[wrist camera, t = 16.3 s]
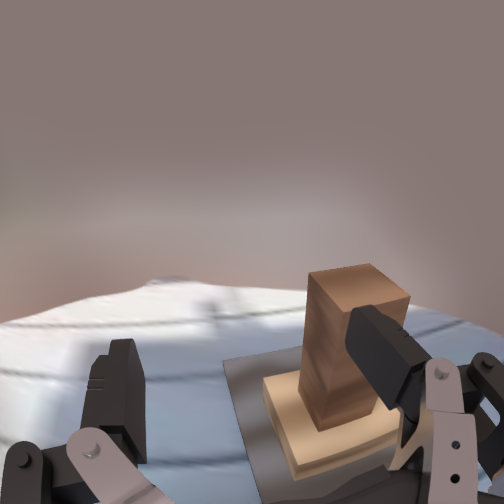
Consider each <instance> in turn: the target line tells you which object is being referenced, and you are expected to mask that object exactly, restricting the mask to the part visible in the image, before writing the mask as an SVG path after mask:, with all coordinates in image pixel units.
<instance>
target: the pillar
mask: <svg viewBox="0 0 504 504" xmlns="http://www.w3.org/2000/svg"><path fill="white" fill-rule="evenodd" d="M410 297H411V296H410V295H409V294H408V293H407V292H405V291H404V290H403V289H401V288H400V287H399V286H398V285H396V284H395V283H394V282H393V281H391V280H390V279H389V278H388V277H386V276H385V275H384V274H383V273H381V272H380V271H379V270H377V269H376V268H375V267H374V266H372V265H371V264H370V263H369V264H363V265H356V266H350V267H343V268H337V269H331V270H324V271H318V272H311V273H309V275H308V290H307V303H306V315H305V327H304V338H303V348H302V358H301V367H300V376H299V385H298V392H299V394H300V396H301V398H302V400H303V402H304V405H305V407H306V409H307V411H308V413H309V415H310V417H311V419H312V421H313V423H314V425H315V427H316V429H317V431H318V432H321V431H325V430H328V429H331V428H334V427H337V426H340V425H343V424H346V423H349V422H351V421H354V420H357V419H360V418H362V417H365V416H368V415H370V414H372V411H373V409H374V406H375V404H376V402H377V399H378V397H379V396H378V394H377V393H376V392H375V390H374V389H373V387H372V386H371V385H370V383H369V382H368V380H367V379H366V378H365V376H364V375H363V373H362V372H361V371H360V369H359V368H358V367H357V365H356V364H355V362H354V361H353V360H352V358H351V357H350V355H349V354H348V352H347V350H346V347H345V337H346V332H347V328H348V323H349V319H350V314H351V311H352V309H353V308H355V307H360V306H364V305H369V304H372V305H374V306H375V307H376V308H377V309H378V310H379V311H380V312H381V313H382V314H385V315H387V316H389V317H390V318H392V319H394V320H396V321H397V322H398V323H399V324H400V325H401V326H402V327H403V323H404V320H405V316H406V312H407V309H408V305H409V301H410Z"/></svg>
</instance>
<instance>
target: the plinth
mask: <svg viewBox="0 0 504 504" xmlns="http://www.w3.org/2000/svg"><path fill="white" fill-rule="evenodd" d="M302 348H303V346H298V347H294V348H289V349H284V350H279V351H274V352H269V353H263V354H258V355H252V356H246V357H240V358H234V359H228V360H223V366H224V370H225V374H226V378H227V382H228V386H229V390H230V394H231V398H232V402H233V405H234V409H235V413H236V416H237V420H238V424H239V427H240V431H241V434H242V438H243V441H244V445H245V448H246V452H247V455H248V459H249V462H250V465H251V469H252V472H253V475H254V478H255V482H256V485H257V488H258V491H259V494H260V497H261V500H262V503H263V504H269V503H273V502H278V501H282V500H298V499H311V498H321V497H324V496H326V495H328V494H329V493H331V492H333V491H334V490H336V489H337V488H339V487H340V486H342V485H343V484H345V483H346V482H348V481H349V480H350V479H352V478H353V477H355V476H358V475H360V474H363V473H365V472H367V471H370V470H372V469H374V468H376V467H379V466H381V465H383V464H384V466H385V467H386V469H387V470H388V471H389V468H390V465H391V463H392V461H393V459H394V456H395V452H396V445H397V438H398V429H399V420H400V414H401V412H402V408H401V407H397V408H395V409H393V410H391V411H389V410H388V409H387V407H386V406H385V404H384V403H383V401H382V400H381V399H380V397H378V399H377V402H376V404H375V406H374V409H373V411H372V414H370V415H368V416H365V417H362V418H360V419H357V420H354V421H351V422H349V423H346V424H343V425H340V426H337V427H334V428H331V429H328V430H325V431H321V432H318V431H317V429H316V427H315V425H314V423H313V421H312V419H311V417H310V415H309V413H308V411H307V409H306V407H305V405H304V402H303V400H302V398H301V396H300V394H299V392H298V385H299V376H300V367H301V358H302Z"/></svg>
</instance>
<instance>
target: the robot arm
mask: <svg viewBox="0 0 504 504" xmlns="http://www.w3.org/2000/svg"><path fill="white" fill-rule="evenodd" d="M345 347H346V350H347V352H348V354H349V355H350V357H351V358H352V360H353V361H354V362H355V364H356V365H357V367H358V368H359V369H360V371H361V372H362V373H363V375H364V376H365V378H366V379H367V380H368V382H369V383H370V385H371V386H372V387H373V389H374V390H375V392H376V393H377V394H378V396H379V397H380V399H381V400H382V401H383V403H384V404H385V406H386V407H387V409H388V410H389V411H391V410H393V409H395V408H397V407H401V408H402V412H401V414H400V420H399V429H398V438H397V445H396V452H395V456H394V459H393V461H392V463H391V465H390V468H389V471H388V470H387V469H386V467H385V466H384V464H383V465H381V466H379V467H376V468H374V469H372V470H370V471H367V472H365V473H363V474H360V475H358V476H355V477H353V478H352V479H350V480H349V481H348V482H346V483H345V484H343V485H342V486H340V487H339V488H337V489H336V490H334V491H333V492H331V493H329V494H328V495H326V496H324V497H321V498H311V499H298V500H282V501H278V502H273V503H269V504H504V365H503V364H502V363H501V362H500V361H499V360H498V359H497V358H496V357H494V356H493V355H491V354H489V353H485V352H481V353H477V354H476V355H475V356H474V358H473V359H472V361H471V363H470V364H468V365H461V366H456V365H455V364H454V363H453V362H451V361H450V360H448V359H445V358H432V357H431V356H430V355H429V354H428V353H427V352H426V351H425V350H424V349H423V348H422V347H421V346H420V345H419V344H418V343H417V342H416V341H415V340H414V339H413V338H412V337H411V336H409V334H408V333H407V332H406V331H405V330H403V327H402V326H401V325H400V324H399V323H398V322H397V321H396V320H394V319H392V318H390V317H389V316H387V315H385V314H382V313H381V312H380V311H379V310H378V309H377V308H376V307H375V306H374V305H372V304H369V305H364V306H360V307H355V308H353V309H352V311H351V314H350V319H349V323H348V328H347V332H346V337H345ZM87 389H88V390H87V391H86V396H85V402H84V408H83V414H82V420H81V426H80V429H79V430H78V431H76V432H75V433H73V434H72V435H71V437H70V438H69V440H68V442H67V444H65V445H62V446H58V447H53V448H49V449H44V450H40V449H39V448H38V447H37V446H36V445H35V444H33V443H31V442H28V441H21V442H18V443H15V444H14V445H13V446H11V447H10V448H9V450H8V452H7V454H6V457H5V464H4V470H3V478H2V487H1V497H0V504H94V503H98V502H101V503H102V504H175V503H174V502H173V501H172V500H171V499H170V498H169V497H167V496H166V495H165V494H164V493H163V492H162V491H161V490H160V489H159V488H158V487H156V486H155V485H153V484H152V483H151V482H150V481H149V480H148V479H147V478H146V477H145V476H144V475H143V474H142V473H141V472H140V471H139V470H138V466H137V464H147V456H146V426H145V377H144V372H143V368H142V365H141V362H140V359H139V355H138V352H137V349H136V345H135V342H134V340H133V339H117V340H112V341H111V344H110V349H109V354H108V355H99V357H98V358H97V359H96V361H95V362H94V363H93V365H92V366H91V371H90V376H89V381H88V386H87ZM485 397H486V398H487V399H488V400H489V401H490V403H491V404H492V405H493V406H494V407H495V409H496V410H497V411H498V413H499V414H500V422H499V424H498V426H495V424H494V423H493V422H492V420H491V419H490V418H489V417H488V415H487V414H486V413H485V412H484V410H483V409H482V408H481V407H480V403H481V402H482V400H483V399H484V398H485ZM478 462H479V463H480V465H481V466H482V468H483V469H484V471H485V472H486V474H487V475H488V477H489V478H490V480H491V481H492V486H490V487H489V489H488V493H484V492H480V491H477V489H478Z"/></svg>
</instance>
